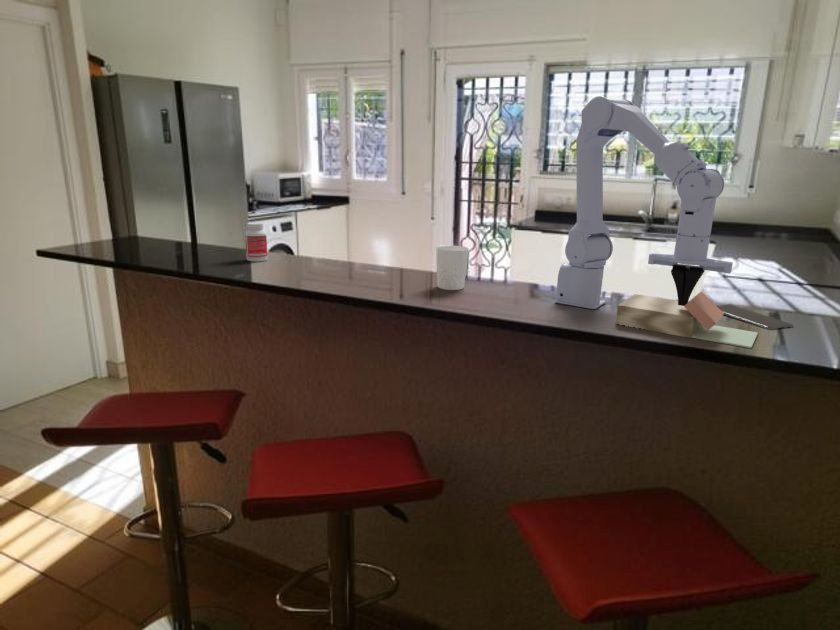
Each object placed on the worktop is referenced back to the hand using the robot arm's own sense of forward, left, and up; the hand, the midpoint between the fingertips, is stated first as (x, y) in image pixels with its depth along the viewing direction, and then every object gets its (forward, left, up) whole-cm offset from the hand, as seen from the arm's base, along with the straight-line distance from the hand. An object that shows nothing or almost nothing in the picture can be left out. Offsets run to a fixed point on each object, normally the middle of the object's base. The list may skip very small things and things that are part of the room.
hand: (682, 304), depth 111 cm
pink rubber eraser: (+3, 0, -1) cm, 4 cm away
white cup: (-54, +1, -5) cm, 54 cm away
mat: (+8, +1, -5) cm, 9 cm away
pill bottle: (-118, -7, -5) cm, 118 cm away
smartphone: (+10, +19, -6) cm, 22 cm away
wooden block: (-4, +1, -5) cm, 6 cm away
